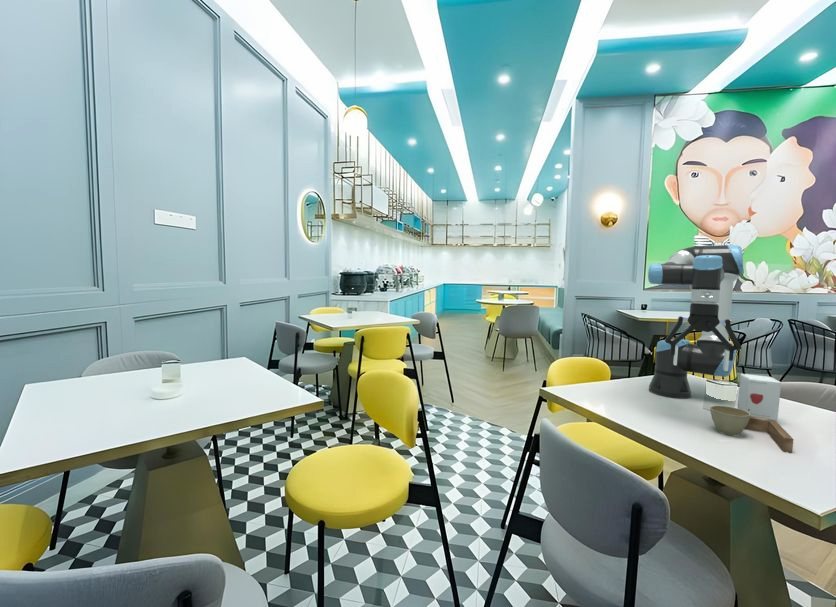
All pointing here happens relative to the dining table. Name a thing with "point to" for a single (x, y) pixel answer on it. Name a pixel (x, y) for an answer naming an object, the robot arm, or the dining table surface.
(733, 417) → the flower pot
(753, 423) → the l-shaped wooden block
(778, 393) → the supplement box
